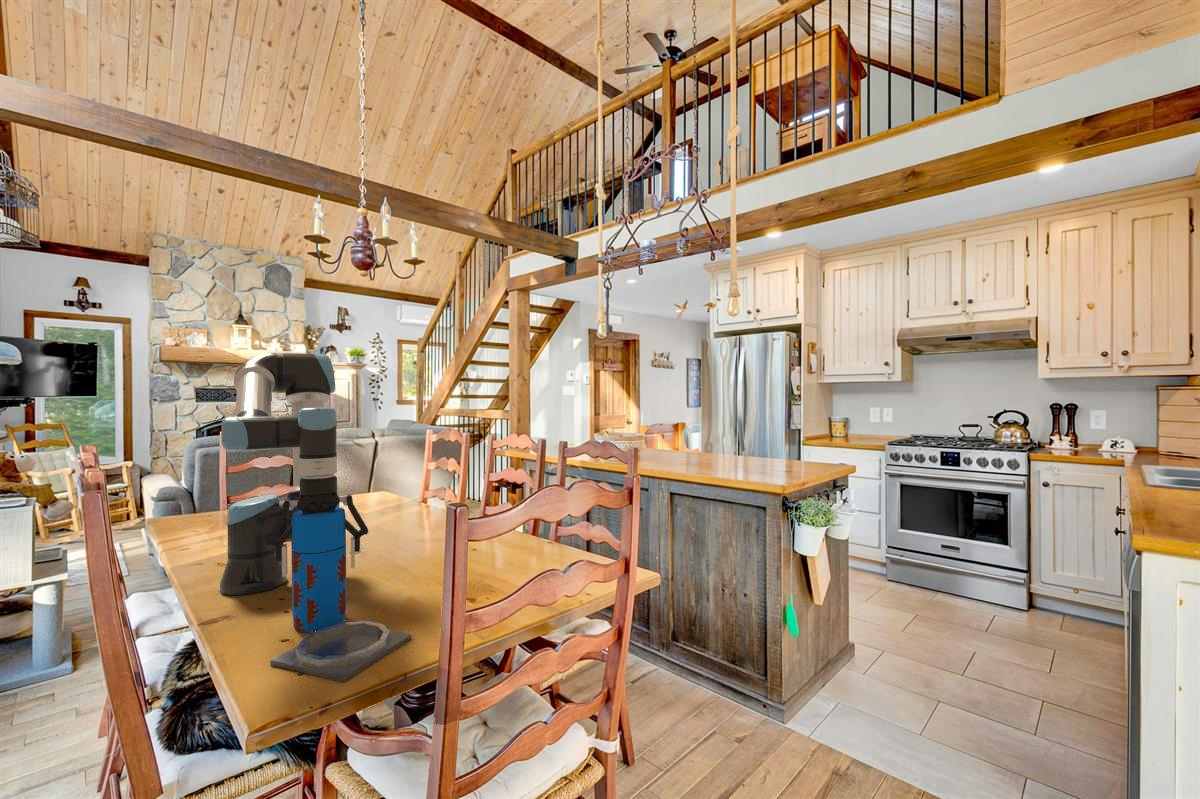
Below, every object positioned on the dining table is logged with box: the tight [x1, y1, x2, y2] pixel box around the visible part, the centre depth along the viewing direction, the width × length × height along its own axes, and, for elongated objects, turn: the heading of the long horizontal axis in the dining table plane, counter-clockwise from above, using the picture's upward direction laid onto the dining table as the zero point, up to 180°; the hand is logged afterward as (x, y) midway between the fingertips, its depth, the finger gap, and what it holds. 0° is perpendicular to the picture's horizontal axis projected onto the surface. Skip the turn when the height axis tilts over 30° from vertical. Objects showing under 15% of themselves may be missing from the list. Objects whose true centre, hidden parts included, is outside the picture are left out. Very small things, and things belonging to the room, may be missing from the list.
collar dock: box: [269, 620, 413, 683], centre depth 108 cm, size 18×18×2 cm
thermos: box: [290, 506, 348, 633], centre depth 122 cm, size 11×11×25 cm
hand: (319, 570), depth 121 cm, fingers open, 13 cm apart
